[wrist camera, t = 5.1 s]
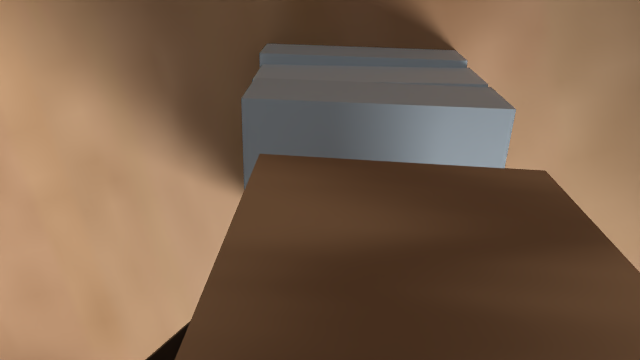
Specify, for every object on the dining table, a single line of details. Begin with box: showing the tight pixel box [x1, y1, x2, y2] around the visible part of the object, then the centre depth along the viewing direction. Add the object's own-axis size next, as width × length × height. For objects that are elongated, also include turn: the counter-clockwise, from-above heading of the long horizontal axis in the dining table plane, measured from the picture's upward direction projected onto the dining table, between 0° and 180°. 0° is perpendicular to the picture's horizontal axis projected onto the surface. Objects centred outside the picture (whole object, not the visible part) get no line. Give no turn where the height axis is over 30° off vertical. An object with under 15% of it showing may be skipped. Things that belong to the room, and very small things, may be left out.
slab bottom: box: [259, 44, 467, 68], centre depth 17 cm, size 6×6×2 cm
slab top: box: [241, 78, 516, 190], centre depth 13 cm, size 6×6×2 cm
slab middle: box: [252, 64, 488, 87], centre depth 15 cm, size 6×6×2 cm
